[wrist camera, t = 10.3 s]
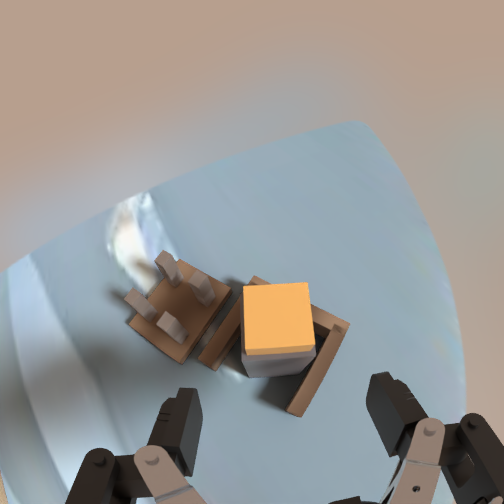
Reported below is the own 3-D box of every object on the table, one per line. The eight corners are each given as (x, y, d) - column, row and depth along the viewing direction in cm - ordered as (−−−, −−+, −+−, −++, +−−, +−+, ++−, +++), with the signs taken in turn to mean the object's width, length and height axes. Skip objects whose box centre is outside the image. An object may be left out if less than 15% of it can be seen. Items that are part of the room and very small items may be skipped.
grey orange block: (249, 377, 21) (239, 355, 13) (247, 332, 23) (237, 281, 15) (298, 374, 21) (321, 349, 13) (294, 329, 23) (312, 276, 15)
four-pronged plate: (133, 327, 24) (108, 308, 19) (181, 263, 27) (167, 234, 23) (182, 364, 22) (162, 352, 18) (232, 292, 25) (225, 265, 21)
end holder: (203, 363, 22) (197, 358, 20) (255, 287, 26) (254, 275, 23) (297, 416, 19) (301, 417, 17) (342, 332, 23) (350, 323, 21)
